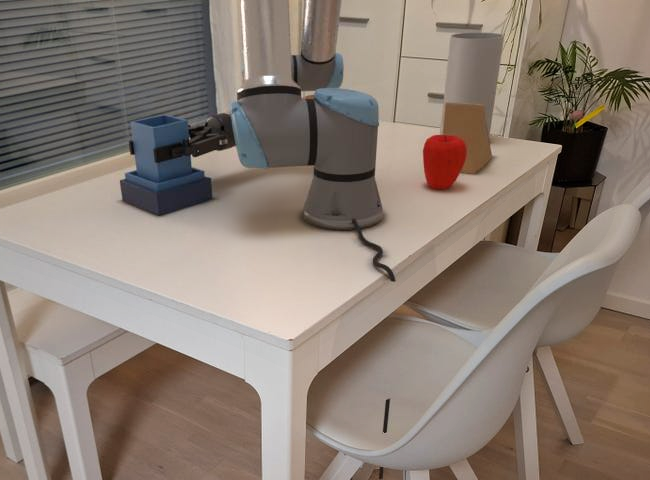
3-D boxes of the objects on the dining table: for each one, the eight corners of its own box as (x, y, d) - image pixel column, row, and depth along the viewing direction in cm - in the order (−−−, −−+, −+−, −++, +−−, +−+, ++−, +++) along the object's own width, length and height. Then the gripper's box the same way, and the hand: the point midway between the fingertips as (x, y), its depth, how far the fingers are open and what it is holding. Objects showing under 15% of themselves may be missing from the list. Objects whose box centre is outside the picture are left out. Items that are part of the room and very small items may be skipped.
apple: (467, 183, 147) (474, 133, 141) (453, 195, 141) (460, 142, 135) (428, 178, 151) (433, 128, 145) (413, 189, 145) (418, 137, 139)
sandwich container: (493, 157, 163) (504, 91, 155) (475, 174, 152) (484, 104, 144) (458, 153, 167) (466, 89, 159) (438, 169, 156) (445, 101, 148)
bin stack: (174, 185, 152) (172, 159, 149) (212, 198, 144) (210, 170, 141) (122, 200, 145) (118, 173, 141) (159, 215, 136) (155, 186, 133)
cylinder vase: (491, 147, 171) (508, 38, 157) (440, 146, 173) (453, 39, 159) (485, 134, 181) (500, 32, 168) (437, 134, 183) (448, 32, 170)
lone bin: (170, 175, 147) (164, 114, 140) (193, 183, 142) (187, 120, 135) (138, 185, 143) (130, 121, 136) (160, 193, 138) (153, 128, 131)
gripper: (260, 156, 144) (175, 181, 131) (200, 139, 157) (117, 160, 144) (259, 119, 140) (171, 141, 127) (197, 106, 153) (111, 124, 140)
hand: (142, 151), depth 136 cm, fingers closed on lone bin, 8 cm apart
